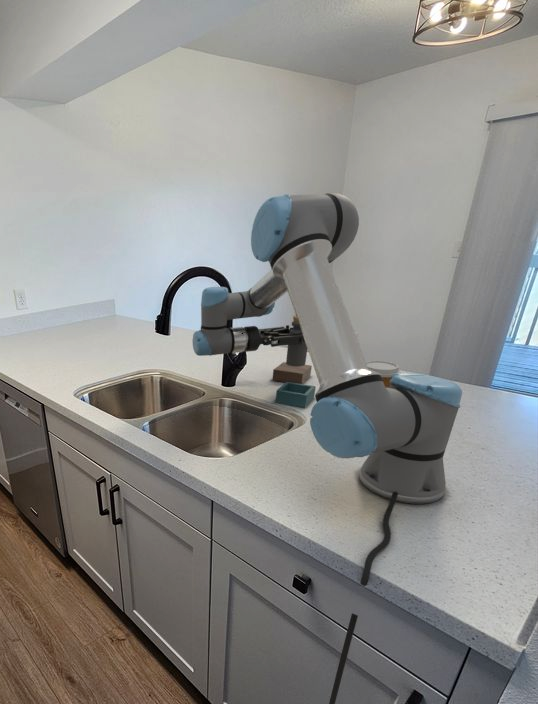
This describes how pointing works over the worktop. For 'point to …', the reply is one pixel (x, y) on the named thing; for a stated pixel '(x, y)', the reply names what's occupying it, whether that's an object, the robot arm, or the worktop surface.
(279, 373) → the stand
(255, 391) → the worktop surface
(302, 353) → the bottle
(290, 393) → the holder
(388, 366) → the disposable coffee cup
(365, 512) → the worktop surface
